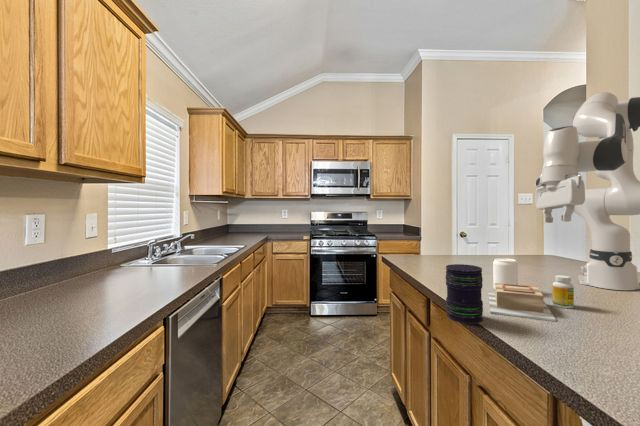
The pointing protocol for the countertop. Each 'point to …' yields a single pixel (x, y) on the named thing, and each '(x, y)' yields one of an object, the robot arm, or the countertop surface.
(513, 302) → the stand
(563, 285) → the supplement bottle
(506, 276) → the beverage can
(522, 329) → the countertop surface
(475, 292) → the storage jar
